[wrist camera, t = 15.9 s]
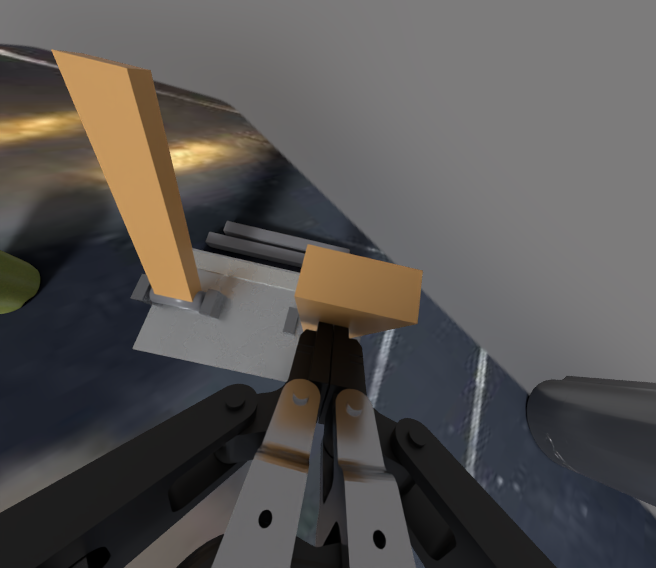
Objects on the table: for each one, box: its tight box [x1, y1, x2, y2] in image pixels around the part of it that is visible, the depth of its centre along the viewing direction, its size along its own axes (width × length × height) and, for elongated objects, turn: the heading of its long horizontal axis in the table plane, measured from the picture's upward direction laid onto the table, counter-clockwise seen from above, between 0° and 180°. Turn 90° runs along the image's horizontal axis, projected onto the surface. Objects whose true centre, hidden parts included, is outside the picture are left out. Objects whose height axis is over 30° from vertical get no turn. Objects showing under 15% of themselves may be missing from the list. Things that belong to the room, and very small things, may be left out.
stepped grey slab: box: [206, 221, 350, 268], centre depth 30 cm, size 3×18×1 cm, turn 78°
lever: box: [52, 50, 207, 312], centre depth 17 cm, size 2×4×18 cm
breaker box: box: [131, 248, 361, 382], centre depth 24 cm, size 11×21×6 cm, turn 78°
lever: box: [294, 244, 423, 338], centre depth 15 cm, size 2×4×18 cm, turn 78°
